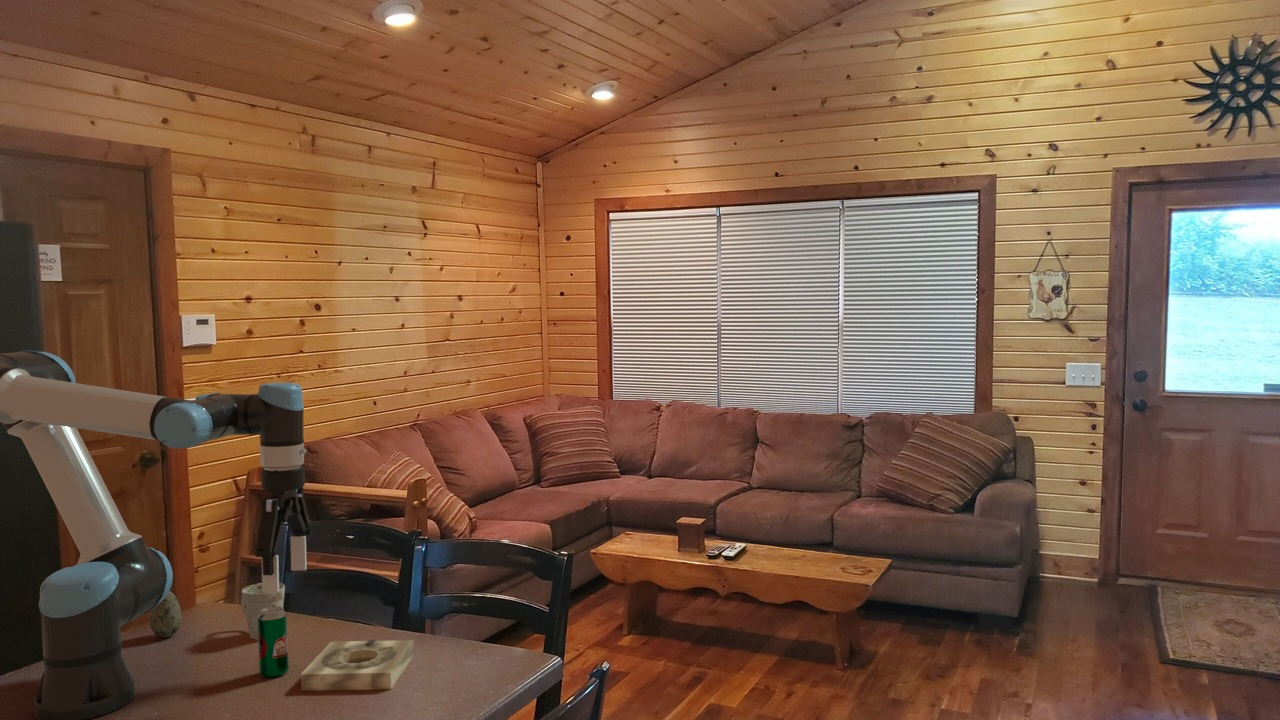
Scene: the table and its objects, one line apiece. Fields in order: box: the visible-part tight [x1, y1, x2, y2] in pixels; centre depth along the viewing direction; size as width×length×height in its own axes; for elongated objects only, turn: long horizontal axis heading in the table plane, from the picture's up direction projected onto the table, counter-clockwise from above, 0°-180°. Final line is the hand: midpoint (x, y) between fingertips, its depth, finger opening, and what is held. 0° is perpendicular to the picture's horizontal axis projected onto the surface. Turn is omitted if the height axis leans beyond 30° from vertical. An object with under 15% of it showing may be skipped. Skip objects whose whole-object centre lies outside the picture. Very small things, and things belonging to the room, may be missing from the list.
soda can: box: [257, 607, 290, 679], centre depth 173 cm, size 5×5×12 cm
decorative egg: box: [149, 590, 183, 638], centre depth 194 cm, size 6×6×10 cm
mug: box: [240, 582, 286, 641], centre depth 195 cm, size 8×13×10 cm, turn 57°
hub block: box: [300, 639, 415, 692], centre depth 173 cm, size 16×16×3 cm
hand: (285, 580), depth 172 cm, fingers open, 13 cm apart
